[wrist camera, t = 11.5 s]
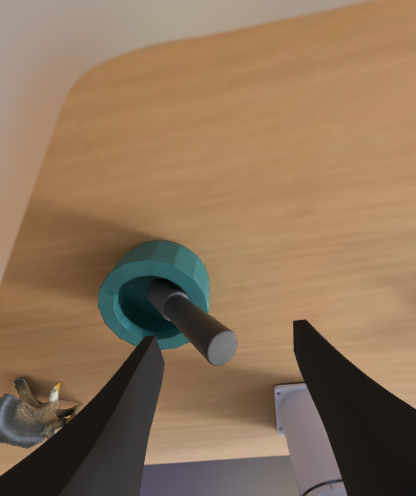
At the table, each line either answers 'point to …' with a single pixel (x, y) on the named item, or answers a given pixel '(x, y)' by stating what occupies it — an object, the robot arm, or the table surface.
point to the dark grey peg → (193, 322)
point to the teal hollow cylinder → (134, 291)
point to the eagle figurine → (31, 416)
